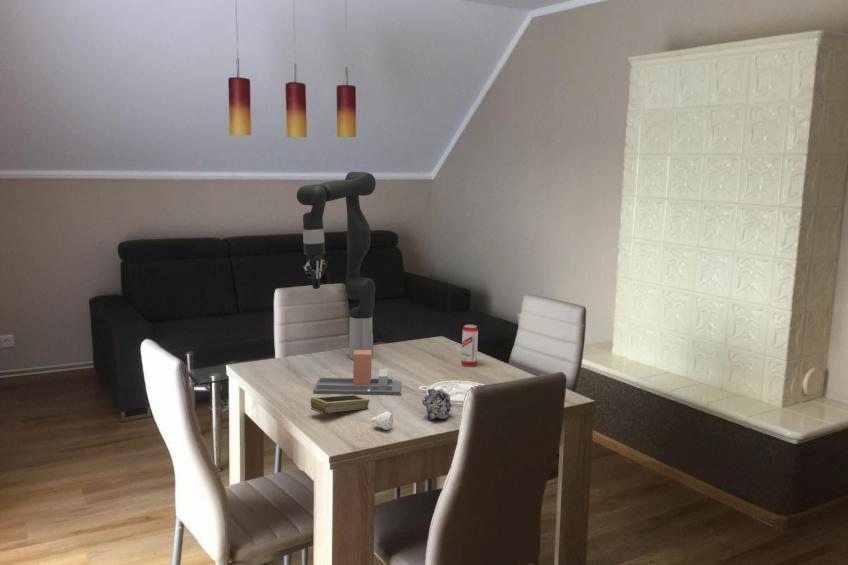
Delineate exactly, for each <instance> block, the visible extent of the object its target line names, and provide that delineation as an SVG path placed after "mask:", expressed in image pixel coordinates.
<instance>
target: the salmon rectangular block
mask: <svg viewBox="0 0 848 565" xmlns="http://www.w3.org/2000/svg"><path fill="white" fill-rule="evenodd" d="M372 358H373V356H372V350H355V351H354V358H353V359H352V361H353V366H352V367H353V369H352V372H353V374H352V375H353V377H352V378H353V385H371V378H372Z"/></svg>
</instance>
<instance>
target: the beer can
mask: <svg viewBox="0 0 848 565" xmlns="http://www.w3.org/2000/svg"><path fill="white" fill-rule="evenodd" d="M461 335H462V337H461V338H462V339H461V359H460V360H461V361H460V363H461V365H462V366H463V367H468V368H469V367H476V365H477V364H478V343H479V341H478V340H479V329H478V326H477V325H475V324H465V325H463V328H462V334H461Z"/></svg>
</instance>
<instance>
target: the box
mask: <svg viewBox="0 0 848 565" xmlns="http://www.w3.org/2000/svg"><path fill="white" fill-rule="evenodd" d="M369 402H370V399H369V398H365V397H363V396H361V395H360V396H359V395H356V394H334V395H326V396H313V397H311V398H310V407H311V408H310V410H311V411H314V412H317V413H320V414H323V415H327V414H330V413H332V414H334V415H337V414H336V412H347V411H356V410H357V411H358V410H365V409H366V410H367V409H368V408H369Z"/></svg>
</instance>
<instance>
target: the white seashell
mask: <svg viewBox="0 0 848 565" xmlns="http://www.w3.org/2000/svg"><path fill="white" fill-rule="evenodd" d="M370 422H371V423H374V424H375V425H376V426H377V427H379V428H381V429H382V430H384V431H389V430H391V429H392V428H393V424H394V415H393V413H391V412H390V411H385V412H382V413H379V414H378V415H376V416H374V417H372V419H371V421H370Z"/></svg>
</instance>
